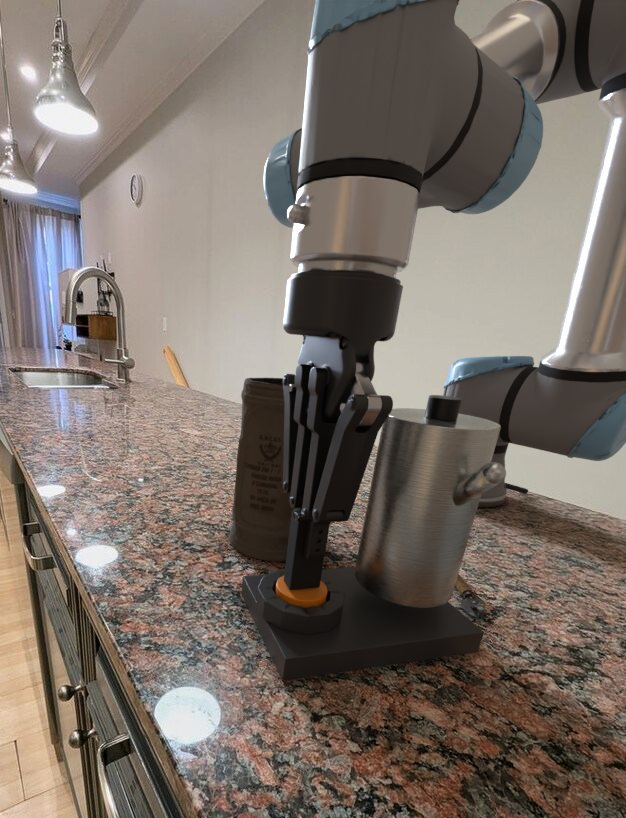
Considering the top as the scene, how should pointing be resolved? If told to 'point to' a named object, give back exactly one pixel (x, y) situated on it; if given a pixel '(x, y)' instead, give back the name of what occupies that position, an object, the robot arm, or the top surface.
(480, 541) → the top surface
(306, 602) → the kettle button
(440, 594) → the kettle
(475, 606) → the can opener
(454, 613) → the kettle base
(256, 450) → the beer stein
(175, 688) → the top surface
